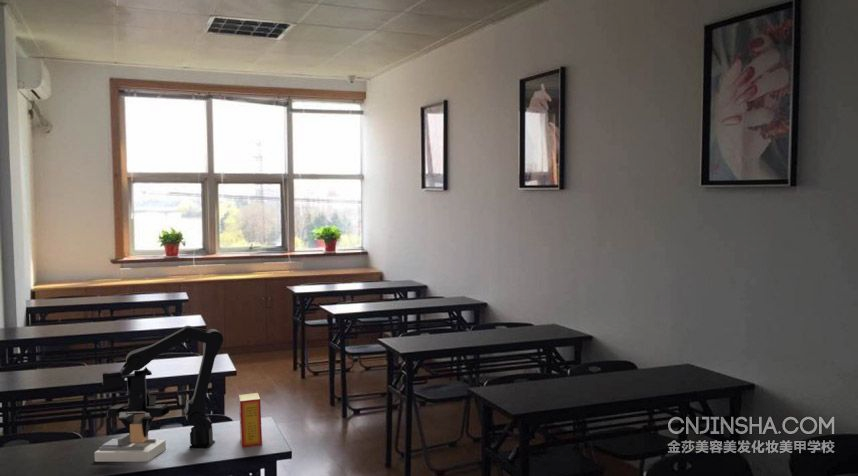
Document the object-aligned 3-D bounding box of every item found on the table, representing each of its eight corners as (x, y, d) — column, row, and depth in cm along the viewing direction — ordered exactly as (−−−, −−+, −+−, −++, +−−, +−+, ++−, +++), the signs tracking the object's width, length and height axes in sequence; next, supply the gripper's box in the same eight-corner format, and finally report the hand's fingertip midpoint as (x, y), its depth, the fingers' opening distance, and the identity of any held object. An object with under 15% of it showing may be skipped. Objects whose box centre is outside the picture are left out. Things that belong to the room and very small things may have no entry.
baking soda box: (240, 439, 244) (238, 393, 244) (259, 437, 246) (257, 391, 246) (242, 447, 235) (240, 400, 235) (262, 445, 237) (260, 398, 237)
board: (166, 449, 237) (165, 437, 237) (148, 461, 225) (147, 449, 225) (115, 449, 238) (114, 437, 238) (94, 461, 226) (94, 449, 226)
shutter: (132, 442, 235) (131, 433, 235) (121, 448, 228) (121, 439, 228) (113, 442, 235) (113, 433, 235) (102, 448, 229) (102, 439, 229)
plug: (148, 438, 233) (147, 417, 233) (142, 442, 229) (141, 420, 229) (136, 438, 233) (135, 417, 233) (130, 442, 229) (129, 420, 229)
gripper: (175, 383, 238) (177, 429, 238) (122, 384, 240) (125, 429, 240) (159, 391, 227) (162, 439, 227) (104, 392, 228) (107, 440, 229)
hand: (139, 436), depth 231 cm, fingers closed on plug, 4 cm apart
